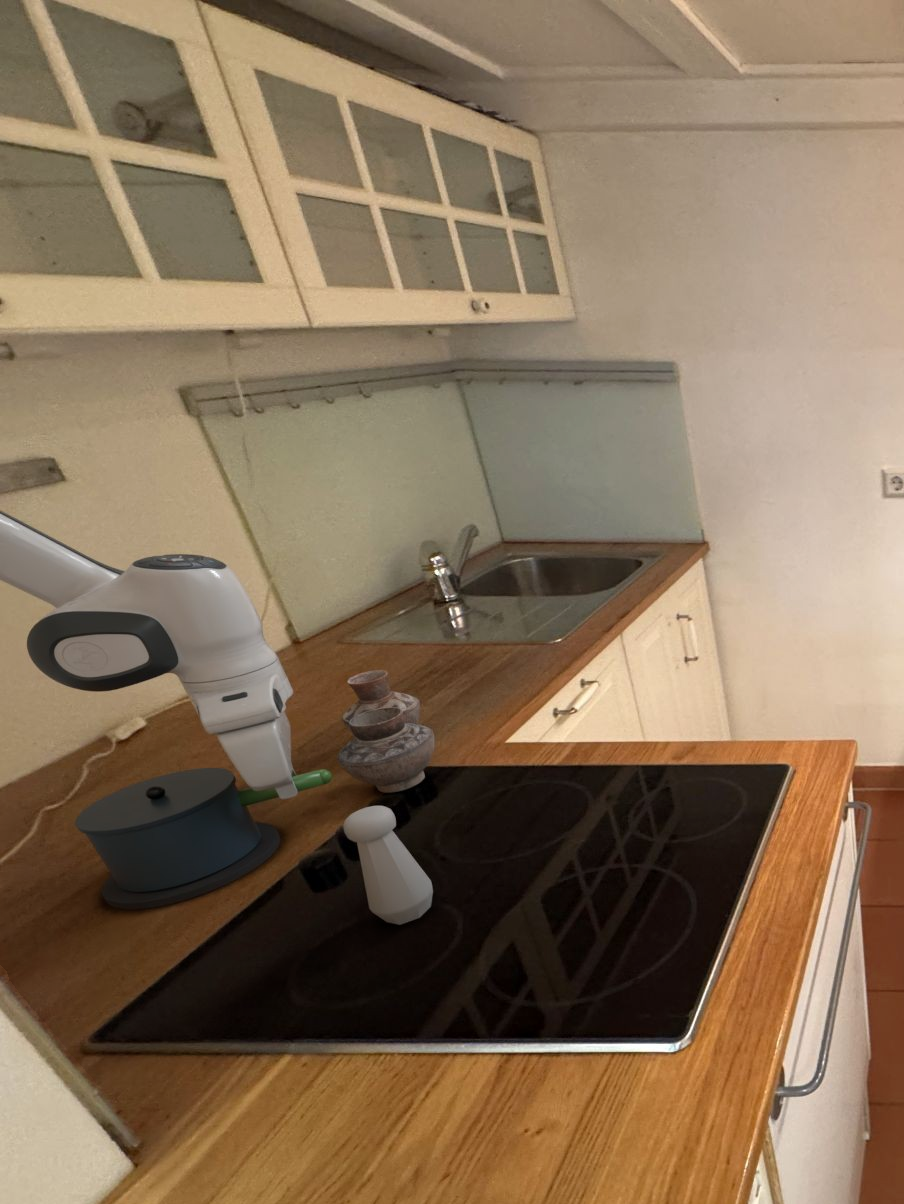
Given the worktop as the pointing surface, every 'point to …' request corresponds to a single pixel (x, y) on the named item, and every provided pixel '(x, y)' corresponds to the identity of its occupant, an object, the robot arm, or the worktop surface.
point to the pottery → (385, 735)
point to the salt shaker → (388, 867)
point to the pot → (177, 826)
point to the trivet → (198, 887)
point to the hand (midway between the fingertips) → (290, 790)
